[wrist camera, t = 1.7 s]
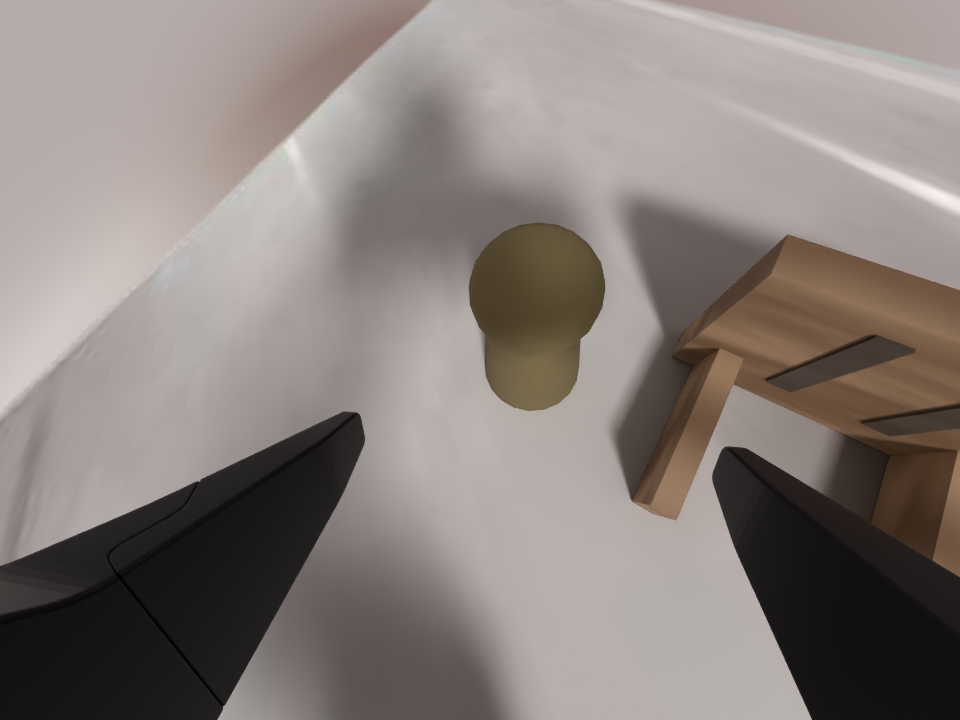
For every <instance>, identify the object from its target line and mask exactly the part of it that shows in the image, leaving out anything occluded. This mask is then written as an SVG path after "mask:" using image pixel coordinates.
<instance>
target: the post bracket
mask: <svg viewBox="0 0 960 720" xmlns="http://www.w3.org/2000/svg"><path fill="white" fill-rule="evenodd" d="M672 356H673V357H675V358H677V359H679V360H681V361H684V362H686V363H688V364H690V365H692V366H693V368H692V370H691V372H690V374H689V376H688V379H687V381H686V383H685V385H684V387H683V390H682V392H681V394H680V396H679V398H678V401H677V403H676V405H675V407H674V409H673V412H672V414H671V416H670V418H669V420H668V423H667V425H666V427H665V429H664V431H663V433H662V436H661V438H660V440H659V442H658V444H657V447H656V449H655V451H654V453H653V455H652V458H651V460H650V462H649V464H648V466H647V469H646V471H645V473H644V475H643V477H642V480H641V482H640V484H639V486H638V488H637V491H636V493H635V495H634V497H633V499H632V502H634V503H636V504H637V505H639V506H641V507H642V508H644V509H646V510H647V511H649V512H651V513H653V514H656V515H659V516H663V517H666V518H670V519H673V520H677V517H678V515H679V513H680V510H681V508H682V505H683V503H684V501H685V498H686V496H687V493H688V491H689V489H690V486H691V484H692V482H693V479H694V477H695V474H696V472H697V470H698V467H699V465H700V462H701V460H702V458H703V455H704V453H705V450H706V448H707V446H708V443H709V441H710V439H711V436H712V434H713V431H714V429H715V427H716V424H717V422H718V419H719V417H720V415H721V412H722V410H723V408H724V405H725V403H726V400H727V398H728V396H729V393H730V391H731V388H732V386H733V384H734V385H736V386H739V387H741V388H743V389H745V390H748V391H750V392H752V393H754V394H756V395H759V396H761V397H763V398H765V399H767V400H770V401H772V402H774V403H776V404H778V405H781V406H783V407H785V408H787V409H789V410H792V411H794V412H796V413H798V414H800V415H803V416H805V417H807V418H809V419H811V420H814V421H816V422H818V423H820V424H822V425H825V426H827V427H829V428H831V429H833V430H836V431H838V432H840V433H842V434H844V435H847V436H849V437H851V438H853V439H856V440H858V441H860V442H862V443H864V444H867V445H869V446H871V447H873V448H875V449H878V450H880V451H882V452H884V453H886V454H889V455H890V456H889V460H888V463H887V467H886V470H885V474H884V477H883V481H882V485H881V488H880V492H879V495H878V499H877V502H876V506H875V509H874V513H873V516H872V520H871V524H873V525H874V526H876V527H878V528H879V529H881V530H883V531H884V532H886V533H888V534H889V535H891V536H893V537H894V538H896V539H898V540H899V541H901V542H903V543H904V544H906V545H908V546H909V547H911V548H913V549H914V550H916V551H918V552H919V553H921V554H923V555H924V556H926V557H927V558H929V559H931V560H932V561H934V562H936V563H937V564H939V565H941V566H942V567H944V568H946V569H947V570H949V571H951V572H952V573H954V574H956V575H957V576H959V577H960V290H957V289H954V288H951V287H948V286H945V285H942V284H939V283H936V282H933V281H929V280H926V279H923V278H920V277H917V276H914V275H911V274H908V273H905V272H902V271H899V270H896V269H892V268H889V267H886V266H883V265H880V264H877V263H874V262H871V261H868V260H865V259H862V258H859V257H856V256H852V255H849V254H846V253H843V252H840V251H837V250H834V249H831V248H828V247H825V246H822V245H819V244H816V243H812V242H809V241H806V240H803V239H800V238H797V237H794V236H791V235H787V236H786V237H785V238H784V239H783V240H781V241H780V242H779V243H778V244H777V245H776V246H775V247H774V248H773V249H772V250H771V251H770V252H768V253H767V254H766V255H765V256H764V257H763V258H762V259H761V260H760V261H759V262H758V263H757V264H755V265H754V266H753V267H752V268H751V269H750V270H749V271H748V272H747V273H746V274H745V275H744V276H743V277H741V278H740V279H739V280H738V281H737V282H736V283H735V284H734V285H733V286H732V287H731V288H730V289H728V290H727V291H726V292H725V293H724V294H723V295H722V296H721V297H720V298H719V299H718V300H717V301H715V302H714V303H713V304H712V305H711V306H710V307H709V308H708V309H707V310H706V311H705V312H704V313H703V314H701V315H700V316H699V317H698V318H697V319H696V320H695V321H694V322H693V323H692V324H691V325H690V326H688V327H687V328H686V329H685V330H684V332H683V334H682V336H681V338H680V341H679V343H678V345H677V347H676V349H675V351H674V353H673V355H672Z"/></svg>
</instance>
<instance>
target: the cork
mask: <svg viewBox="0 0 960 720" xmlns="http://www.w3.org/2000/svg"><path fill="white" fill-rule="evenodd" d="M604 293H605V279H604V275H603V270H602V266H601V262H600V261H599V259H598V257H597V256H596V254H595V253H594V251H593V250H592V248H591V247H590V246H589V244H588V243H587V242H586V241H584V240H583V239H582V238H581V237H579V236H578V235H577V234H575V233H574V232H573V231H570V230H568V229H565V228H563V227H560V226H558V225H553V224H544V223H533V224H526V225H520V226H517V227H515V228H512V229H510V230H508V231H505V232H503V233H502V234H500V235H499V236H498V237H497V238H495V239H494V240H493V241H491V242H490V243H489V244H488V245H487V246H486V247H485V249H484V250H483V252H482V253H481V254H480V256H479V257H478V259H477V260H476V262H475V264H474V268H473V271H472V274H471V278H470V283H469V296H470V306H471V309H472V312H473V314H474V316H475V318H476V321H477V323H478V325H479V328H480V329H481V330H482V331H483V332H484V333H485V334H486V354H485V369H486V377H487V380H488V382H489V384H490V387H491V389H492V390H493V391H494V392H495V394H496V395H497V396H498V397H499V398H500V399H501V400H502V401H504V402H506V403H507V404H509V405H511V406H512V407H514V408H519V409H523V410H527V411H532V410H544V409H546V408H549V407H551V406H554V405H556V404H558V403H559V402H561V401H562V400H563V399H564V398H565V397H566V396H567V395H568V394H569V393H570V392H571V390H572V388H573V386H574V385H575V383H576V381H577V375H578V369H579V355H580V339H581V338H582V337H583V336H584V335H586V334H587V333H588V332H589V331H590V329H591V327H592V325H593V324H594V322H595V320H596V319H597V317H598V315H599V313H600V311H601V309H602V305H603V299H604Z"/></svg>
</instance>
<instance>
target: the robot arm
mask: <svg viewBox="0 0 960 720" xmlns="http://www.w3.org/2000/svg"><path fill="white" fill-rule="evenodd" d="M364 443H365V435H364V430H363V425H362V420H361V416H360V415H359V414H358V413H356V412H341V413H339V414H337V415H335V416H333V417H331V418H329V419H327V420H325V421H323V422H321V423H318V424H316V425H314V426H312V427H310V428H308V429H306V430H304V431H302V432H300V433H297V434H295V435H293V436H291V437H289V438H287V439H285V440H283V441H281V442H279V443H276V444H274V445H272V446H270V447H268V448H266V449H264V450H262V451H260V452H258V453H255V454H253V455H251V456H249V457H247V458H245V459H243V460H241V461H239V462H237V463H234V464H232V465H230V466H228V467H226V468H224V469H222V470H220V471H218V472H216V473H213V474H211V475H209V476H207V477H205V478H203V479H201V480H200V482H198V481H197V482H194V483H192V484H190V485H188V486H186V487H184V488H182V489H180V490H178V491H176V492H173V493H171V494H169V495H167V496H165V497H163V498H160V499H158V500H156V501H154V502H152V503H150V504H147V505H145V506H143V507H140V508H138V509H136V510H134V511H131V512H129V513H127V514H124V515H122V516H120V517H117V518H115V519H113V520H110V521H108V522H106V523H103V524H101V525H99V526H96V527H94V528H92V529H89V530H87V531H85V532H82V533H80V534H77V535H75V536H73V537H70V538H68V539H66V540H63V541H61V542H59V543H56V544H54V545H51V546H49V547H47V548H44V549H42V550H40V551H37V552H35V553H33V554H30V555H28V556H26V557H23V558H21V559H18V560H15V561H13V562H10V563H8V564H5V565H2V566H0V720H217V719H218V717H219V716H220V714H221V712H222V710H223V706H224V705H225V704H226V703H227V701H228V699H229V697H230V695H231V694H232V692H233V690H234V688H235V686H236V685H237V683H238V681H239V679H240V677H241V676H242V674H243V672H244V670H245V669H246V667H247V665H248V663H249V661H250V660H251V658H252V656H253V654H254V652H255V651H256V649H257V647H258V645H259V644H260V642H261V640H262V638H263V636H264V635H265V633H266V631H267V629H268V627H269V626H270V624H271V622H272V620H273V618H274V617H275V615H276V613H277V611H278V610H279V608H280V606H281V604H282V602H283V601H284V599H285V597H286V595H287V593H288V592H289V590H290V588H291V586H292V584H293V583H294V581H295V579H296V577H297V576H298V574H299V572H300V570H301V568H302V567H303V565H304V563H305V561H306V559H307V558H308V556H309V554H310V552H311V551H312V549H313V547H314V545H315V543H316V542H317V540H318V538H319V536H320V534H321V533H322V531H323V529H324V527H325V525H326V524H327V522H328V520H329V518H330V517H331V515H332V513H333V511H334V509H335V508H336V506H337V504H338V502H339V500H340V498H341V496H342V494H343V492H344V490H345V488H346V486H347V483H348V481H349V479H350V476H351V474H352V472H353V469H354V467H355V465H356V463H357V460H358V458H359V456H360V453H361V451H362V449H363V446H364ZM712 480H713V485H714V488H715V491H716V494H717V497H718V500H719V503H720V506H721V509H722V512H723V515H724V518H725V521H726V524H727V527H728V530H729V533H730V536H731V539H732V542H733V544H734V547H735V550H736V552H737V554H738V557H739V559H740V561H741V563H742V566H743V568H744V570H745V572H746V575H747V577H748V579H749V581H750V583H751V586H752V588H753V590H754V592H755V594H756V597H757V599H758V601H759V603H760V606H761V608H762V610H763V612H764V614H765V617H766V619H767V621H768V623H769V625H770V628H771V630H772V632H773V634H774V637H775V639H776V641H777V643H778V645H779V648H780V650H781V652H782V654H783V656H784V659H785V661H786V663H787V665H788V668H789V670H790V672H791V674H792V676H793V679H794V681H795V683H796V685H797V687H798V690H799V692H800V694H801V696H802V699H803V701H804V703H805V705H806V707H807V710H808V712H809V714H810V716H811V718H812V720H960V577H959V576H957V575H956V574H954V573H952V572H951V571H949V570H947V569H946V568H944V567H942V566H941V565H939V564H937V563H936V562H934V561H932V560H931V559H929V558H927V557H926V556H924V555H923V554H921V553H919V552H918V551H916V550H914V549H913V548H911V547H909V546H908V545H906V544H904V543H903V542H901V541H899V540H898V539H896V538H894V537H893V536H891V535H889V534H888V533H886V532H884V531H883V530H881V529H879V528H878V527H876V526H874V525H873V524H871V523H869V522H868V521H866V520H864V519H863V518H861V517H859V516H858V515H856V514H854V513H853V512H851V511H849V510H848V509H846V508H844V507H843V506H841V505H839V504H838V503H836V502H834V501H833V500H831V499H829V498H828V497H826V496H825V495H823V494H821V493H820V492H818V491H816V490H815V489H813V488H811V487H810V486H808V485H806V484H805V483H803V482H801V481H800V480H798V479H796V478H795V477H793V476H791V475H790V474H788V473H786V472H785V471H783V470H781V469H780V468H778V467H776V466H775V465H773V464H771V463H770V462H768V461H766V460H765V459H763V458H761V457H760V456H758V455H756V454H755V453H753V452H751V451H750V450H748V449H746V448H740V447H729V446H727V447H724V448H723V449H722V451H721V453H720V455H719V458H718V460H717V463H716V466H715V468H714V471H713V475H712Z"/></svg>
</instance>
